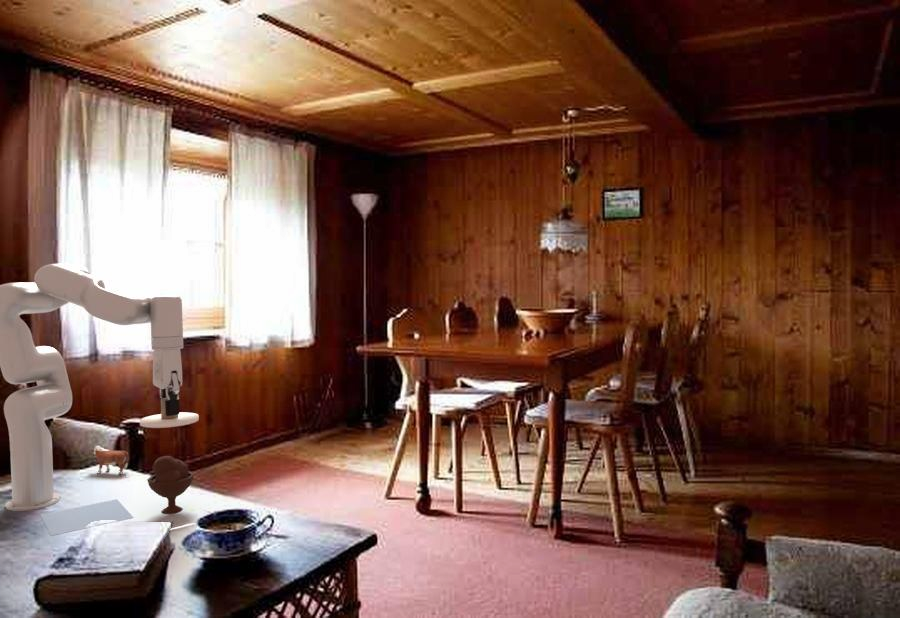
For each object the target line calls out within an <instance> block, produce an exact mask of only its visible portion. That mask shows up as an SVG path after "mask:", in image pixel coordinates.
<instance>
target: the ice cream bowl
mask: <svg viewBox="0 0 900 618" xmlns="http://www.w3.org/2000/svg"><path fill="white" fill-rule="evenodd" d="M152 471H153V473H154V474H152V475H151V476H150V477H148V478H147V483H148V486H149V488H150V490H152V492H154V493H155V494H156V495H158V496H160V497H162V498H167V503H168V504H167V506H166V507H165V508H164V509H162V510H161V511H160V513H162V515H173V514H178V513H180V512H182V511H183V510H184V508H183V507H181V506H179V505H176V498H177V497H179V496H181V495H182V494H183V493H185V492H186V490H187V489H188V488H189V487H190V486H191V485H192V483H193V480H194V477H195V473H194V472H192V471H190V470H189V466H188V464H186V463H185V462H184V461H182V460H180V459H177V458H174V456H171V455H164V456H160V457H158V458H157V459H155V461H154V463H153V465H152Z"/></svg>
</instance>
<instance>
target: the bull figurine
mask: <svg viewBox="0 0 900 618" xmlns="http://www.w3.org/2000/svg"><path fill="white" fill-rule="evenodd" d="M90 452H92V453H93V454H94V455H95V456H96V460H97V461H98V464H99V466H98V471H97V472H101V473H102V470H103V466H106V470H110V471H111V469H110V467H109V466H110V465H112V466H113V467H115V466H116V465H118V467H119V470H118V471H120V472H118V474H121V473H122V474H123V472H124V469H125V470H126V469H127V468H128V465H129V453H128V452H127V451H125V450H111V449H107V446H102V447H101V445H96V446H95V447H94V448H91V449H90ZM122 474H121V475H122Z"/></svg>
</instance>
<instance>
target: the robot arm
mask: <svg viewBox="0 0 900 618" xmlns="http://www.w3.org/2000/svg"><path fill="white" fill-rule="evenodd" d="M105 287H106V286H105V283H104V281H103V280H102V279H101V278H99V277H97V276H94V275H92V274H91V273H90V271H89V270H88V269H87V268H86V267H84V266H82V265H80V264H76V263H75V264H74V263H73V264H72V263H70V264H69V263H48V264H45V265H43V266H41V267H40V268H39V269H37V271H36V272H35V274H34V281H33V282H27V281H26V282H21V281H20V282H7V283H3V284H0V371H1V373H2V376H3V379H4V380H5V382H7V383H9V384H11V385H21V384H22V385H23V384H29V383H35V382H36V385H35V386H32V387H26V388H21V389H18V390H16V391H14V392H12V393H11V394H9V396H8V397H7V398H6V400H5V402H4V404H3V414H4V418H5V420H6V421H5V422H6V424H7V428H8V436H9V451H10V453H9V454H10V473H11V474H10V475H11V476H10V477H11V499H10V500H8V501H7V502H6V503H5V504H4V505H5V507H6V508H5V509H6V510H7V511H13V512H14V511H15V512H26V511H33V510H38V509H42V508H43V509H44V508H47V507H50V506H53V505H55V504H57V503H59V502H60V501H61V499H62V498H61V495H60V494H59V493H57V492H55V491H54V487H55V486H54V467H53V466H54V463H53V460H54V459H53V440H52V434H51V431H50V429H49V428H48V426H47V425H46V422H45V421H46V420H50V419H54V418H58V417H61V416H62V415H65V414H66V413H68V412H69V411H70V409H71V408H72V405H73V391H72V388H71V383H70V381H69V376H68V375H69V374H68V372H67V371H68V370H67V367H66V363H65V360H64V358H63V356H62V355H61V353H60V352H59V351H58V350H57V349H55V348H54V347H51V346H47V345H38V346H35V343H34V339H33V336H32V332H31V329H30V328H29V326H28V324H27V323H26V322H25V321H24V320H23V319H22V318H21V317H20V316H21V315H25V314H26V315H31V314H43V313H50V312H53V311H55V310H58V309H60V308H62V307H63V306H65V305H67V304H69V303H70V304H74V305H76V306H80V307H82V308H83V309H84V310H85V311H86V312H87V313H88V314H89V315H91V316H93V317H95V318H97V319H100V320H102V321H105V322H109V323H112V324H115V325H119V326H130V325H131V326H132V325H140V324H141V325H143V324H149V323H150V334H151V335H150V336H151V338H150V339H151V345H150V346H151V351H152V350H153V357H152V385H153V386H155V387H157V388H158V389H159V409H160V413H161V399H162V398H166V399H167V400H165V411H166V416H172V415H178V414H179V412H180V395H179V393H180V390H181V389H180V388H181V387H182V386H183V368H182V367H183V364H182V363H183V362H182V355H181V354H182V353H181V349H184V330H183V329H184V328H183V327H184V326H183V325H184V324H183V321H184V320H183V302H182V301H183V300H182V298H181V296H179V295H177V294H174V295H173V294H172V295H171V294H166V295H165V294H163V295H162V294H161V295H152V294H126V295H125V294H120V293H116V292H113V291H111V290H109V289H108V290H107V289H105Z"/></svg>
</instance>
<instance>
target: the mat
mask: <svg viewBox="0 0 900 618" xmlns="http://www.w3.org/2000/svg"><path fill="white" fill-rule="evenodd" d="M39 516H40V518H41V520H42V522H43V524H44V525H45V528H46V529H47V531H48V533H49V536H50V537H53V536H58V535H62V534H65V533H70V532H75V531H80V530H85V529H86V528H85V527H86V526H87V525H88V524H90V523H91V522H94V521H100V520H116V521H117V522H120V521H124V520H125V521H126V520H129V519H130V520H131V519H134V516H133V515H132V514H131V513H130V512H129V511H128V510H127V508H126V507H124V505H123V504H122V503H121V502H120V501H119V500H118V499H117V498H115V499H112V500H111V499H110V500H107V501H103V502H96V503H91V504H86V505H81V506H76V507H71V508H66V509H62V510H57V511H56V510H55V511H52V512H46V513H41V514H40V515H39Z"/></svg>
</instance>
